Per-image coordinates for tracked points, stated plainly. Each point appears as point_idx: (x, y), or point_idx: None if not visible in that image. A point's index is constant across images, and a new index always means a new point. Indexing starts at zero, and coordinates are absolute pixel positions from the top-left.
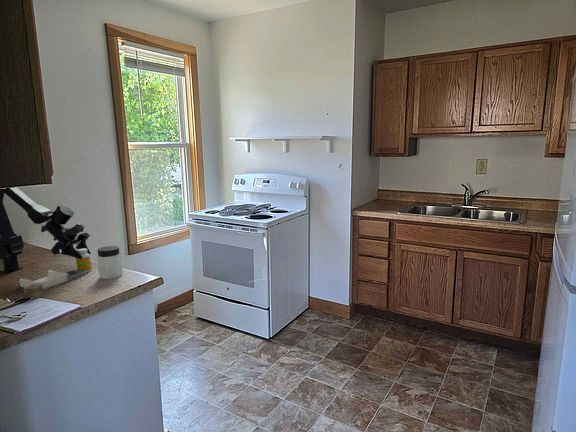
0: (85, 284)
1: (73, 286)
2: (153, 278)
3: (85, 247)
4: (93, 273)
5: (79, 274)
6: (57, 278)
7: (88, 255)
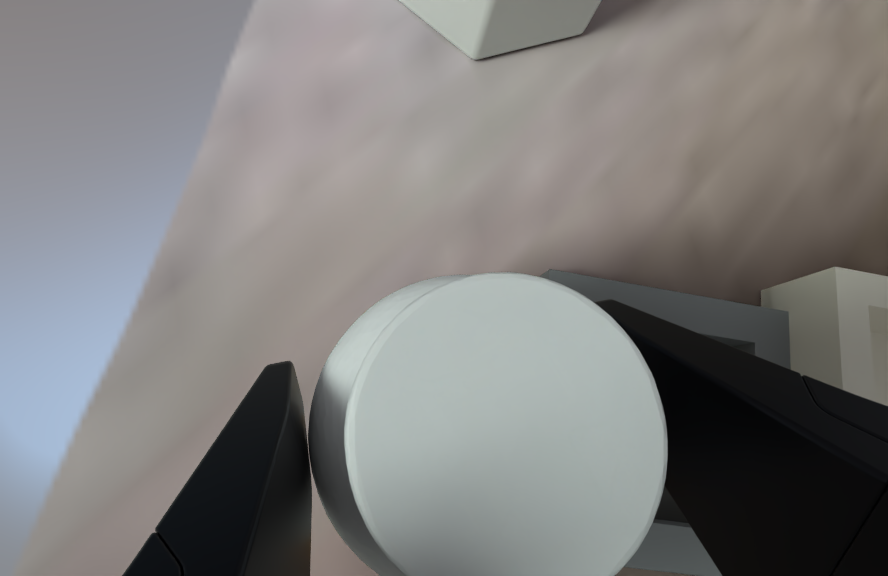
0: (757, 49)
1: (836, 120)
2: None
3: (262, 525)
4: (480, 211)
5: (632, 286)
6: None
7: (431, 280)
